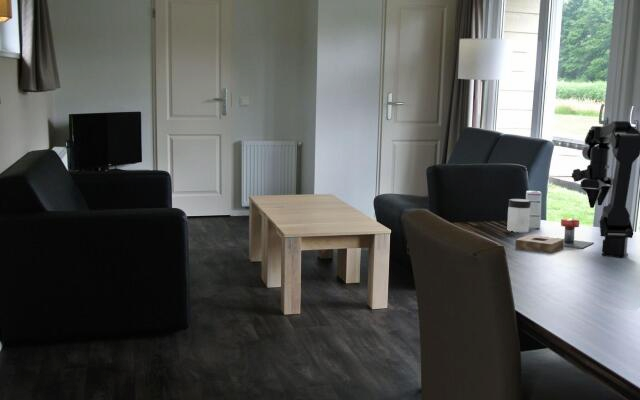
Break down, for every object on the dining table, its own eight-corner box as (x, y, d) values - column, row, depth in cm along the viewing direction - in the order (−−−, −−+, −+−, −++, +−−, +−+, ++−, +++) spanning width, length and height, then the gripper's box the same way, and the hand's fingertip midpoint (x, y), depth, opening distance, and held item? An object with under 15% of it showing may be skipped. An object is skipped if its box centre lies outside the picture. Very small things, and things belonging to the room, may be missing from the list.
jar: (511, 232, 263) (513, 201, 261) (502, 229, 271) (504, 198, 269) (533, 232, 264) (535, 201, 263) (524, 229, 272) (526, 198, 271)
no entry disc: (563, 240, 246) (564, 217, 245) (580, 242, 243) (581, 219, 241) (557, 242, 241) (558, 219, 240) (574, 245, 238) (576, 221, 237)
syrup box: (540, 228, 273) (542, 192, 271) (525, 228, 274) (527, 191, 272) (539, 226, 279) (541, 190, 277) (523, 225, 280) (525, 190, 278)
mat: (593, 243, 243) (593, 242, 243) (581, 249, 233) (582, 247, 233) (556, 239, 251) (556, 237, 251) (543, 244, 241) (543, 242, 241)
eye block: (563, 247, 234) (563, 239, 234) (550, 253, 225) (551, 244, 225) (528, 243, 242) (529, 234, 241) (515, 248, 232) (515, 239, 232)
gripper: (583, 159, 253) (580, 202, 255) (566, 162, 239) (563, 206, 241) (615, 161, 247) (612, 204, 248) (600, 164, 232) (597, 210, 234)
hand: (595, 206), depth 243 cm, fingers open, 9 cm apart
